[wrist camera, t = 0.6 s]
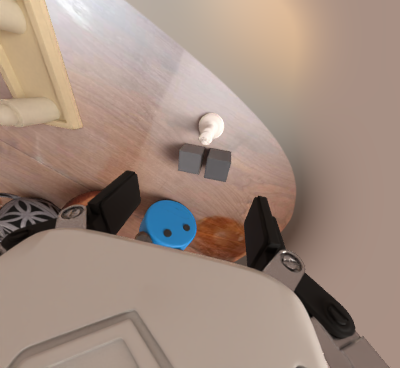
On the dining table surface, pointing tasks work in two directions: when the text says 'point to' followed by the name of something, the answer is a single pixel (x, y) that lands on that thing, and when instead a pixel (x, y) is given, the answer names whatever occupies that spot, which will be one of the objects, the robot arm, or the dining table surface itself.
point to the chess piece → (210, 128)
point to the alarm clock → (167, 225)
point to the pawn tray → (33, 69)
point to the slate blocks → (215, 163)
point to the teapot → (24, 213)
